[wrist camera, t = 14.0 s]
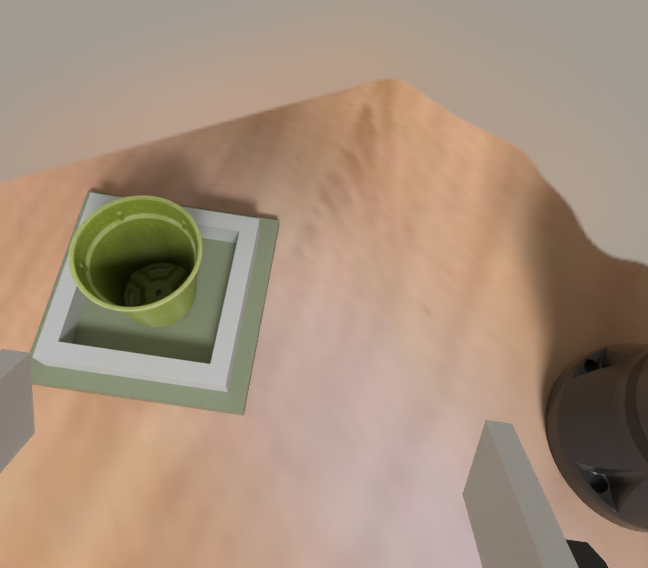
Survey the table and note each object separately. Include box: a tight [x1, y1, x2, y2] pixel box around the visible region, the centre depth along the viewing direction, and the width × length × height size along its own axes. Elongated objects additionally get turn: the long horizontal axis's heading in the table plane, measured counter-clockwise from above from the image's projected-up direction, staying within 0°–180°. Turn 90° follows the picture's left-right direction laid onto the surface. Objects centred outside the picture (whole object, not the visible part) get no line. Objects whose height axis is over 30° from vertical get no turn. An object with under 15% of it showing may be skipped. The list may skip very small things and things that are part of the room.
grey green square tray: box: [30, 191, 279, 415], centre depth 47 cm, size 18×18×4 cm
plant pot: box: [68, 195, 203, 327], centre depth 43 cm, size 9×9×9 cm
